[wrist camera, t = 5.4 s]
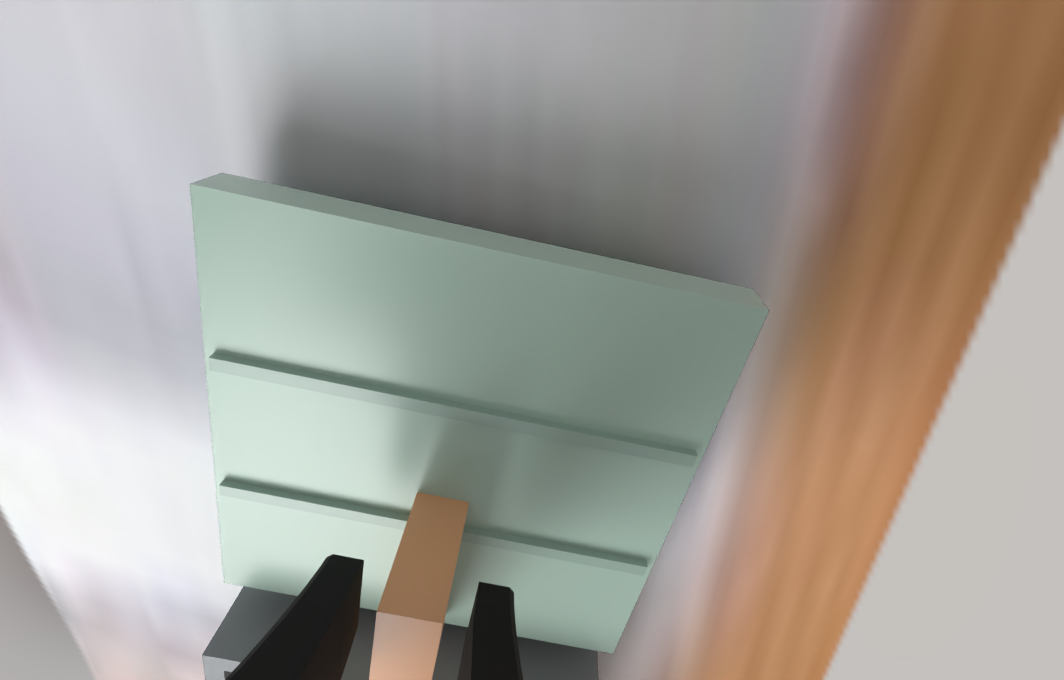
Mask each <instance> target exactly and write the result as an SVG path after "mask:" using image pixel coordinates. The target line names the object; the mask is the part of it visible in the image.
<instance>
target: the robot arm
mask: <svg viewBox="0 0 1064 680" xmlns="http://www.w3.org/2000/svg"><path fill="white" fill-rule="evenodd" d="M363 567H364V560H362V559H356V558H351V557H346V556H340V555H335V554H332V555H330V556H328V557H326V559H325V560H324V562H323V563H322V565H321V566H320V567H319V569H318V570H317V572H316V573H315V574H314V576H313V577H312V578H311V580H310V581H309V582H308V584H307V585H306V586H305V587H304V589H303V590H302V591H301V593H300V594H299V595H298V596H297V598H296V599H295V600H294V601H293V603H292V604H291V605H290V606H289V607H288V609H287V610H286V611H285V612H284V613H283V615H282V616H281V617H280V618H279V620H278V621H277V622H276V623H275V624H274V625H273V627H272V628H271V629H270V630H269V631H268V632H267V633H266V635H265V636H264V637H263V638H262V639H261V640H260V641H259V642H258V644H257V645H256V646H255V647H254V648H253V649H252V650H251V652H250V653H249V654H248V655H247V656H246V657H245V658H244V660H243V661H242V662H241V663H240V664H239V665H238V666H237V667H236V668H235V669H234V670H233V671H232V673H231V674H230V675H229V676H228V677H227V678H226V679H225V680H341V678H342V675H343V672H344V669H345V666H346V663H347V659H348V656H349V653H350V650H351V647H352V644H353V641H354V637H355V634H356V631H357V628H358V621H359V610H360V599H361V588H362V577H363ZM457 680H523V675H522V669H521V662H520V655H519V648H518V641H517V633H516V623H515V609H514V592H513V590H512V589H511V588H510V587H506V586H500V585H495V584H490V583H484V582H479V584H478V588H477V592H476V596H475V600H474V604H473V608H472V613H471V617H470V621H469V625H468V629H467V633H466V637H465V642H464V646H463V651H462V657H461V662H460V668H459V673H458V679H457Z"/></svg>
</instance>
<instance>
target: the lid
mask: <svg viewBox="0 0 1064 680" xmlns="http://www.w3.org/2000/svg"><path fill="white" fill-rule="evenodd" d="M190 193H191V205H192V217H193V228H194V240H195V251H196V263H197V275H198V286H199V298H200V310H201V321H202V333H203V345H204V356H205V368H206V379H207V391H208V403H209V414H210V426H211V438H212V449H213V461H214V473H215V484H216V496H217V507H218V519H219V531H220V542H221V554H222V566H223V577H224V583H229V584H234V585H240V586H245V587H251V588H256V589H262V590H267V591H273V592H278V593H284V594H289V595H294V596H298V595H299V594H300V593H301V591H302V590H303V589H304V587H305V586H306V585H307V584H308V582H309V581H310V580H311V578H312V577H313V576H314V574H315V573H316V572H317V570H318V569H319V567H320V566H321V565H322V563H323V562H324V560H325V559H326V557H328V556H330V555H332V554H335V555H340V556H346V557H351V558H356V559H362V560H364V567H363V577H362V588H361V599H360V608H365V609H371V610H376V611H377V613H376V622H375V631H374V639H373V648H372V657H371V666H370V674H369V680H432V677H433V673H434V668H435V663H436V659H437V654H438V649H439V645H440V640H441V635H442V631H443V626H444V623H447V624H453V625H458V626H464V627H468V625H469V621H470V617H471V613H472V608H473V604H474V600H475V596H476V592H477V588H478V584H479V582H484V583H490V584H495V585H500V586H506V587H510V588H511V589H512V590H513V592H514V609H515V623H516V633H517V636H518V637H524V638H529V639H535V640H540V641H545V642H551V643H556V644H562V645H567V646H573V647H578V648H584V649H589V650H595V651H600V652H605V653H611V654H613V653H614V650H615V648H616V646H617V644H618V642H619V639H620V637H621V635H622V633H623V631H624V628H625V626H626V624H627V622H628V620H629V617H630V615H631V613H632V611H633V609H634V606H635V604H636V602H637V600H638V598H639V595H640V593H641V591H642V589H643V587H644V584H645V582H646V580H647V578H648V576H649V573H650V571H651V569H652V567H653V565H654V563H655V560H656V558H657V556H658V554H659V552H660V549H661V547H662V545H663V543H664V541H665V538H666V536H667V534H668V532H669V530H670V527H671V525H672V523H673V521H674V519H675V516H676V514H677V512H678V510H679V508H680V505H681V503H682V501H683V499H684V497H685V494H686V492H687V490H688V488H689V486H690V483H691V481H692V479H693V477H694V475H695V473H696V470H697V468H698V466H699V464H700V462H701V459H702V457H703V455H704V453H705V451H706V448H707V446H708V444H709V442H710V440H711V437H712V435H713V433H714V431H715V429H716V426H717V424H718V422H719V420H720V418H721V415H722V413H723V411H724V409H725V407H726V404H727V402H728V400H729V398H730V396H731V393H732V391H733V389H734V387H735V385H736V382H737V380H738V378H739V376H740V374H741V372H742V369H743V367H744V365H745V363H746V361H747V358H748V356H749V354H750V352H751V350H752V347H753V345H754V343H755V341H756V339H757V336H758V334H759V332H760V330H761V328H762V325H763V323H764V321H765V319H766V317H767V314H768V312H769V309H768V307H767V306H766V305H765V304H764V302H763V301H762V300H761V299H760V297H759V296H758V295H757V294H756V292H755V291H754V290H753V289H751V288H746V287H742V286H737V285H733V284H728V283H724V282H719V281H714V280H710V279H705V278H701V277H696V276H692V275H687V274H682V273H678V272H673V271H669V270H664V269H660V268H655V267H650V266H646V265H641V264H637V263H632V262H628V261H623V260H618V259H614V258H609V257H605V256H600V255H596V254H591V253H587V252H582V251H577V250H573V249H568V248H564V247H559V246H555V245H550V244H545V243H541V242H536V241H532V240H527V239H523V238H518V237H513V236H509V235H504V234H500V233H495V232H491V231H486V230H481V229H477V228H472V227H468V226H463V225H459V224H454V223H449V222H445V221H440V220H436V219H431V218H427V217H422V216H417V215H413V214H408V213H404V212H399V211H395V210H390V209H386V208H381V207H376V206H372V205H367V204H363V203H358V202H354V201H349V200H344V199H340V198H335V197H331V196H326V195H322V194H317V193H312V192H308V191H303V190H299V189H294V188H290V187H285V186H280V185H276V184H271V183H267V182H262V181H258V180H253V179H248V178H244V177H239V176H235V175H230V174H226V173H220V174H217V175H214V176H211V177H208V178H205V179H202V180H199V181H197V182H194V183H191V184H190Z"/></svg>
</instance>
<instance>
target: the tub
mask: <svg viewBox="0 0 1064 680" xmlns="http://www.w3.org/2000/svg"><path fill="white" fill-rule="evenodd" d="M296 598H297V596H294V595H289V594H284V593H278V592H273V591H267V590H262V589H256V588H251V587H245V586H244V587H243V588H242V590H241V592H240V593H239V595H238V597H237V598H236V600H235V602H234V603H233V605H232V607H231V608H230V610H229V612H228V613H227V615H226V617H225V618H224V620H223V622H222V623H221V625H220V627H219V628H218V630H217V631H216V633H215V635H214V636H213V638H212V640H211V641H210V643H209V645H208V646H207V648H206V650H205V651H204V653H203V655H202V658H203V666H204V674H205V680H225V679H226V678H227V677H228V676H229V675H230V674H231V673H232V671H233V670H234V669H235V668H236V667H237V666H238V665H239V664H240V663H241V662H242V661H243V660H244V658H245V657H246V656H247V655H248V654H249V653H250V652H251V650H252V649H253V648H254V647H255V646H256V645H257V644H258V642H259V641H260V640H261V639H262V638H263V637H264V636H265V635H266V633H267V632H268V631H269V630H270V629H271V628H272V627H273V625H274V624H275V623H276V622H277V621H278V620H279V618H280V617H281V616H282V615H283V613H284V612H285V611H286V610H287V609H288V607H289V606H290V605H291V604H292V603H293V601H294V600H295V599H296ZM376 613H377V611H376V610H371V609H365V608H360V610H359V621H358V628H357V631H356V634H355V637H354V641H353V644H352V647H351V650H350V653H349V656H348V659H347V663H346V666H345V669H344V672H343V675H342V678H341V680H369V674H370V666H371V657H372V648H373V639H374V631H375V622H376ZM467 629H468V627H464V626H458V625H453V624H447V623H444V626H443V631H442V635H441V640H440V645H439V649H438V654H437V659H436V663H435V668H434V673H433V677H432V680H457V679H458V673H459V668H460V662H461V657H462V651H463V646H464V642H465V637H466V633H467ZM517 641H518V648H519V655H520V662H521V669H522V675H523V680H598V663H597V651H595V650H589V649H584V648H578V647H573V646H567V645H562V644H556V643H551V642H545V641H540V640H535V639H529V638H524V637H518V636H517Z"/></svg>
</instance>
